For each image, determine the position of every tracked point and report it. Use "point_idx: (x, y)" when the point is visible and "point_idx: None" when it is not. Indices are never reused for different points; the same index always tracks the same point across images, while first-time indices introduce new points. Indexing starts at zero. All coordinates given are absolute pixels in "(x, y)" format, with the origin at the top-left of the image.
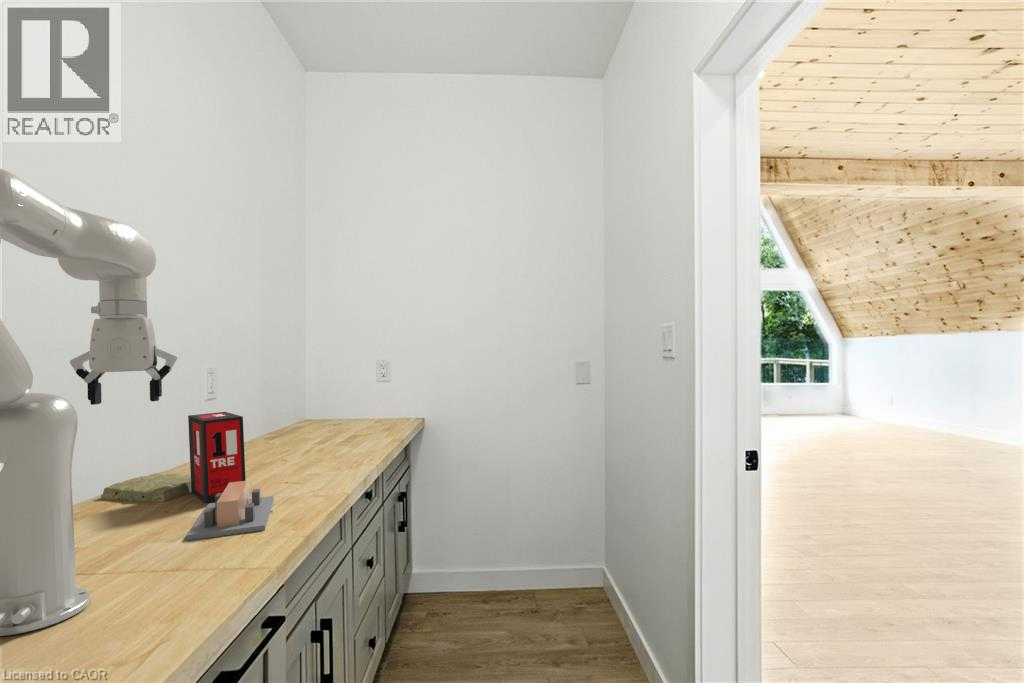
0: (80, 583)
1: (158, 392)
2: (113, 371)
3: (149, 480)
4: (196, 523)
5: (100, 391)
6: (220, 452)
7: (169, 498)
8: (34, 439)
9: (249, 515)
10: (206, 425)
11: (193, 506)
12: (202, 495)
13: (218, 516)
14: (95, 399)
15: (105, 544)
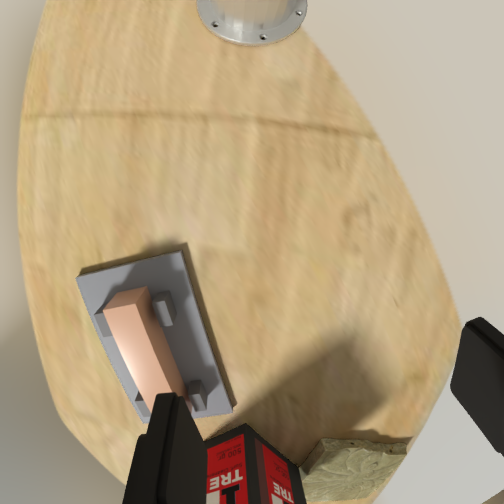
0: (257, 86)
1: (139, 445)
2: (491, 498)
3: (361, 479)
4: (196, 315)
5: (481, 418)
6: (228, 492)
7: (316, 446)
8: None
9: (103, 307)
10: None
11: (263, 417)
12: (261, 442)
13: (140, 293)
14: (475, 340)
15: (317, 258)
